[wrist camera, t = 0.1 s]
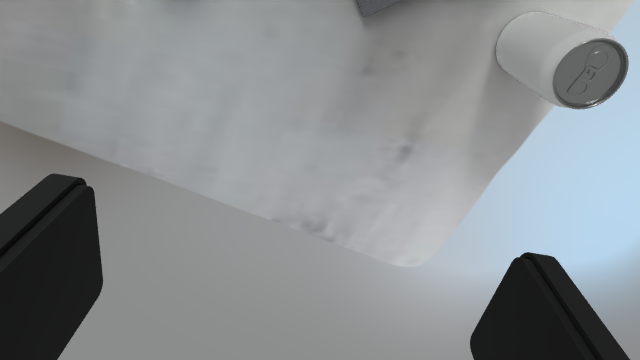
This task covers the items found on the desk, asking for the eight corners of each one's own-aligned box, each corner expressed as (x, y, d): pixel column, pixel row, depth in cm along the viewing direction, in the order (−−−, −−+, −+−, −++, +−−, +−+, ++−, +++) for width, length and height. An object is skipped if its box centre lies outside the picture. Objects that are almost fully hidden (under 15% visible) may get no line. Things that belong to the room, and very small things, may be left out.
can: (571, 23, 41) (653, 49, 31) (535, 82, 44) (598, 124, 34) (516, 0, 40) (581, 19, 30) (482, 63, 44) (531, 99, 33)
